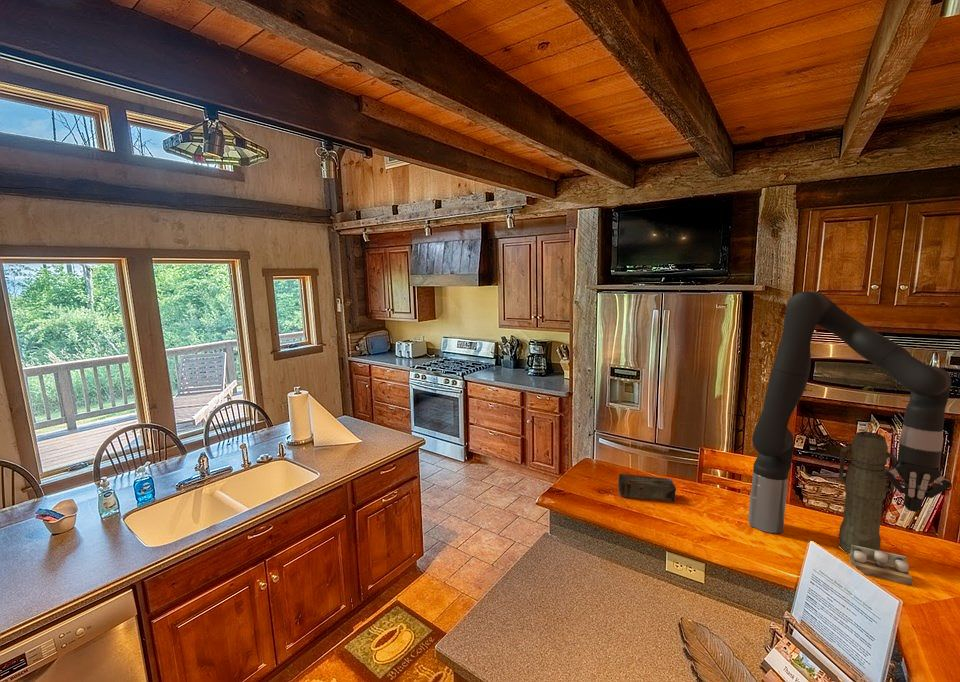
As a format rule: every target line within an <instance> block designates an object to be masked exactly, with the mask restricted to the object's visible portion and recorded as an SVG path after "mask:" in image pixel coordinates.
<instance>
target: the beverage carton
mask: <svg viewBox="0 0 960 682" xmlns="http://www.w3.org/2000/svg"><path fill="white" fill-rule="evenodd" d="M617 487H618V492H619V493H618V494H619V496H621V497H620V498H628V497H629V499H630V498H632V499H638V498H640V499H641V500H647V499H650V500H649V501H657V500H660V502H668V501H671V502H672V503H675V501H676V500H675V499H676V490H677V489H676V488H677V487H676V485H675V483H674V482H673V480H672V479H671V478H663V477H656V476H647V475H637V474H636V475H635V474H630V473H629V474H628V473H619V475H618V483H617ZM671 502H670V503H671Z"/></svg>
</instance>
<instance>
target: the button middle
mask: <svg viewBox="0 0 960 682" xmlns="http://www.w3.org/2000/svg"><path fill="white" fill-rule="evenodd" d="M882 551H883V550H879V551H875V554H874V559H876V560H877V564H876V566H877V567H880V568H884V563H887V561H888V554H886V553H885V552H886V551H883V552H882Z"/></svg>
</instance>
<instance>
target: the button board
mask: <svg viewBox="0 0 960 682" xmlns="http://www.w3.org/2000/svg"><path fill="white" fill-rule="evenodd" d="M854 551H861V552H864V553H865V554H867V559H866V562H863V563H858V562H856V560H855V559H854V558H853V557H854ZM875 551H880V550H874V549H869V548H865V547H860V546H856V545H851V554H850V555H849V557H848V559H849V564H850V565H851V566H852V565H853V566H855V567H856V568H857V569H858V570H860V571H861V572H862V573H864V574H865V576H868V577H873V578H876V579H877V578H878V579H881V580H884V579H885V580H886V581H888V582H889V581H890V582H893V583H897V582H898V583H897V584H902V585H905V586H909V587H912V586H913V584H914V583H913V581H914V578H913V577H912V576H911V574H910V573H909V571H908V572H905V573H902V572H897V569H896V568H895V567H894V566H895V560H902V561H905V562H907V556H905V555H901V554H896V553H892V552H887V551H883V550H881V551H882V552H885V553H886V554H888V561H887V563H884V568H880V567H877V566H876V564H877V560H876V559H874V554H875ZM864 574H863V575H864ZM885 580H884V581H885Z"/></svg>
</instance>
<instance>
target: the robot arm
mask: <svg viewBox="0 0 960 682" xmlns="http://www.w3.org/2000/svg"><path fill="white" fill-rule="evenodd" d="M782 326H783V328H782V333H781V338H780V341H779V344H778V347H777V351H776V355H775V358H774V361H773V364H772V368H771V371H770V375H769V381H768V385H767V389H766V393H765V397H764V402H763V407H762V411H761V412H760V413H761V414H760V416H759V419H758V421H757V423H756V426H755V428H754V431H753V432H752V433H753V434H752V435H751V436H752V437H751V438H752V439H751V440H752V445H753V447H754V449H755V450H756V451H757V454H758V455H757V456H756V458H755V460H754V463H753V466H752V478H751V479H752V481H751V491H750V493H749V505H748V518H747V520H748V523H749V527H752V528H755V529H757V530H759V531H762V532H766V533H770V534H781V533H783V532H784V527H785V513H786V506H787V505H786V504H787V503H786V502H787V493H788V492H787V491H788V483H789V482H788V480H789V473H790V470H791V467H792V464H793V463H792V462H793V454H794V446H795V440H794V439H795V438H794V434H793V433H792V432H791V429H789V428H788V426H789V422H790V419H791V416H792V414H793V413H794V410H795V409H796V407H797V405H798V404H799V402H800V400H801V399H802V397H803V394H804V393H805V390H806V387H807V384H808V381H809V378H810V373H811V369H812V368H811V367H812V366H811V365H812V355H811V343H812V338H813V335H814V333H815V329H816V326H818V327H821V328H823V329H824V330H827V332H828V331H829V332H830V333H832V334H833V335H835V336H836V337H838V338H839V339H840V340H842V341H843V342H844V343H845V344H846V345H847V346H848V347H849V348H851V349H852V350H853V351H854V352H855V353H856V354H858V355H860V356H861V357H862V358H864V359H865V360H867V361H868V362H870V363H871V364H873V365H874V366H876V367H878V368H879V369H881V370H883V371H885V372H886V373H887V374H889V375H890V376H891V377H892V378H893V379H895V381H897V382H898V383H899V384H900V385H902V386H904V388H906V389H908V390H909V391H910V397H909V401H908V403H907V405H906V406H905V409H904V410H905V411H904V417H903V423H902V428H901V431H900V436H899V439H898V441H899V444H898V452H897V462H896V464H895V465H894V468H892V467H891V468H889V469H888V468H885V469H883V473H884V474H885V475H886V478H887V480H889V482H890V481H891V483H892V484H893V485H894V489H896V490H898V492H899V493H900V494H903V495H904V498H903V499H904V500H903V506H904V507H905V508H906V509H907V510H908V511H909V512H915V513H917V512H918V511H920V510H921V509H922V502H923V499H925V498H926V499H927V498H929V499H933V498H934V497H936V496H938V495H939V494H941V493H942V492H944V491H946V490H947V489H949V488H951V487H952V485H953V483H952V482H951V481H950V480H949V479H947V478H945V477H943V476H942V472H941V471H940V466H941V458H942V452H943V445H944V424H945V419H946V418H945V416H946V414H945V413H946V406H947V404H948V400H949V396H950V392H951V388H952V377H951V375H950V374H949V372H948V371H946V370H945V369H944V368H942V367H938V366H934V365H927V364H926V363H924V362H922V361H921V360H919V359H918V358H916V357H915V356H913V355H912V354H911V352H910V351H909V350H907V349H906V348H904V347H903V346H901V345H900V344H898V343H896V341H893V340H892V339H890V338H888V337H886V336H884V335H882V334H881V333H879V332H877V331H876V330H874V329H872V328H871V327H869V326H867V325H865V324H863V323H862V322H861V321H859V320H858V319H855V318H854V317H853V316H851V315H850V314H848V313H847V312H846V311H845V310H844V309H842V308H840V306H838V305H837V304H835V302H834V301H832V300H831V299H830V298H829V297H827V296H826V295H825V294H823V293H822V292H818V291H807V290H806V291H799V292H797V293H795V294H794V295H792V296H790V298H789V299H788V301H787V303H786V307H785V312H784V321H783V325H782ZM898 475H899V476H900V477H901V479H902V480H903V484H904V486H902V485H901V483H900V482H899V481H898V480H897V477H898ZM933 482H934V483H933ZM932 483H933V484H932ZM929 485H930V486H929Z"/></svg>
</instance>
